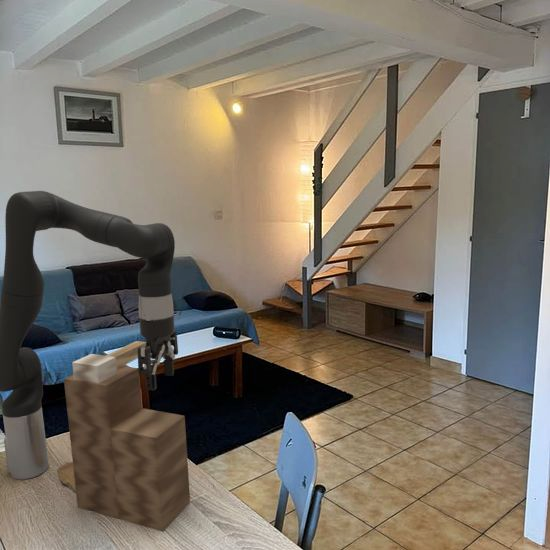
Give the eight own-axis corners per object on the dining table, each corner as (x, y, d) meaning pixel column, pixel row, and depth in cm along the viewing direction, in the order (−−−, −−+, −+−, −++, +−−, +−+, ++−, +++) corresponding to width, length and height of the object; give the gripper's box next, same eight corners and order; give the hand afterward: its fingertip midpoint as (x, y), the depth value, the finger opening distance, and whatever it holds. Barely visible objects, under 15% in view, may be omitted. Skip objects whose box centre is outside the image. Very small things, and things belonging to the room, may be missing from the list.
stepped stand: (77, 507, 122) (63, 378, 116) (109, 482, 132) (97, 362, 126) (163, 531, 113) (152, 393, 107) (190, 502, 123) (181, 374, 117)
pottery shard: (66, 498, 127) (66, 492, 126) (55, 469, 140) (54, 463, 139) (99, 487, 131) (99, 481, 130) (85, 460, 144) (84, 454, 143)
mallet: (74, 379, 116) (72, 362, 115) (131, 351, 134) (129, 336, 133) (98, 383, 113) (97, 366, 112) (153, 354, 131) (152, 339, 130)
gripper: (156, 305, 123) (160, 369, 127) (124, 321, 110) (129, 393, 113) (185, 306, 121) (188, 372, 125) (156, 323, 108) (160, 396, 111)
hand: (160, 382), depth 119 cm, fingers open, 8 cm apart
